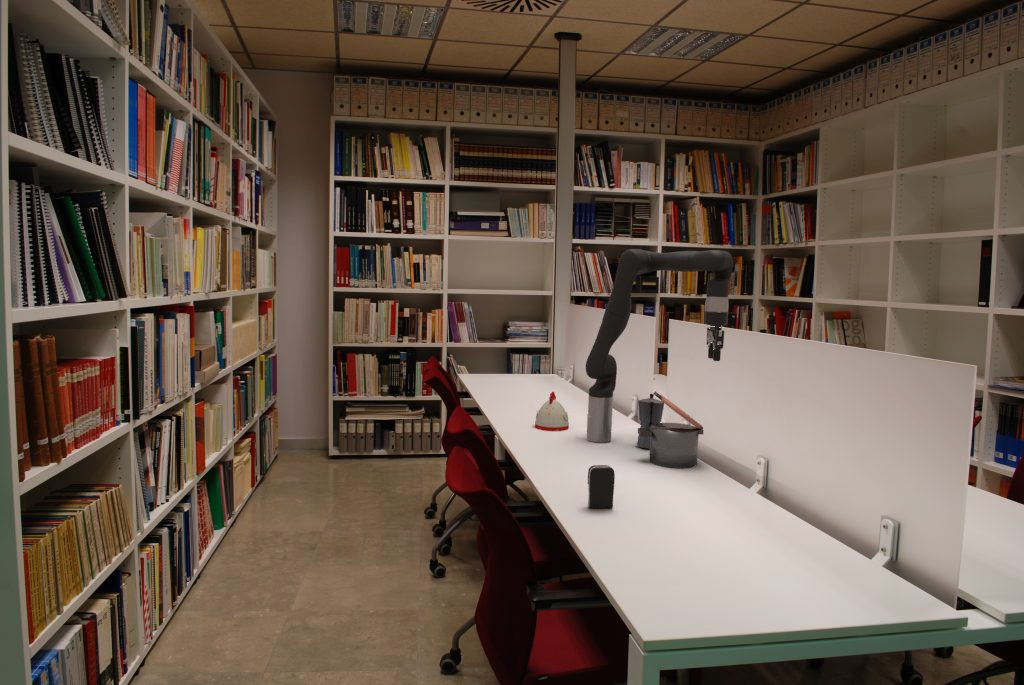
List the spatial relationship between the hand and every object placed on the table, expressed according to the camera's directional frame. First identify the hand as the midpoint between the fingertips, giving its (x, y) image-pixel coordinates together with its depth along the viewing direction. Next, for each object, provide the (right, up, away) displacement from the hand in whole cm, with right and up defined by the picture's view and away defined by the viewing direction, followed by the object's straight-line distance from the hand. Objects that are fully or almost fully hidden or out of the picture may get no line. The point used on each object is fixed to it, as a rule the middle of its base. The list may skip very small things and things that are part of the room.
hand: (713, 359), depth 236 cm
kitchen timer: (-52, -30, +54) cm, 81 cm away
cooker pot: (-14, -35, +4) cm, 38 cm away
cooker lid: (-12, -18, +2) cm, 22 cm away
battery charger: (-44, -39, -46) cm, 75 cm away
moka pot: (-17, -33, +24) cm, 44 cm away
